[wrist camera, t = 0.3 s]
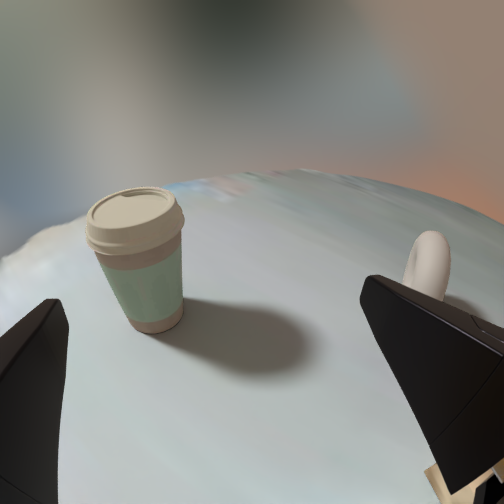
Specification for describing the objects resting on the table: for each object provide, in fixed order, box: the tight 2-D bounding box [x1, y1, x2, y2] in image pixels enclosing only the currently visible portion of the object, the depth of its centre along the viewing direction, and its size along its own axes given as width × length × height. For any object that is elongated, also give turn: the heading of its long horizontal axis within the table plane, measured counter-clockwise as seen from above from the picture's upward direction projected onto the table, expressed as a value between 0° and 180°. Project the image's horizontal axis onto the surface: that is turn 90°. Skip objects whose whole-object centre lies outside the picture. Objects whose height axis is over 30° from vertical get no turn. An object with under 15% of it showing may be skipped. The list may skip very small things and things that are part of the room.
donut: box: [402, 231, 451, 301], centre depth 26 cm, size 10×4×10 cm, turn 154°
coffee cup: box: [85, 187, 185, 334], centre depth 26 cm, size 8×9×12 cm
